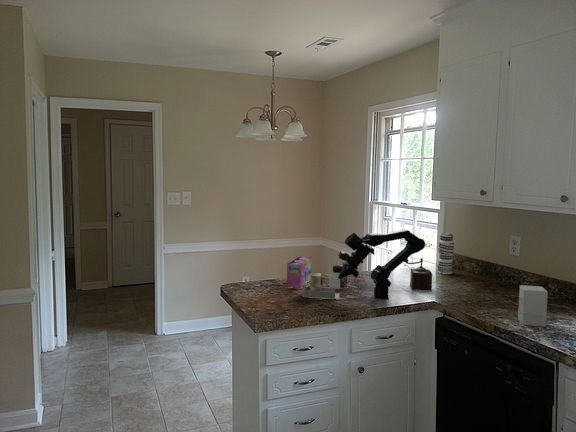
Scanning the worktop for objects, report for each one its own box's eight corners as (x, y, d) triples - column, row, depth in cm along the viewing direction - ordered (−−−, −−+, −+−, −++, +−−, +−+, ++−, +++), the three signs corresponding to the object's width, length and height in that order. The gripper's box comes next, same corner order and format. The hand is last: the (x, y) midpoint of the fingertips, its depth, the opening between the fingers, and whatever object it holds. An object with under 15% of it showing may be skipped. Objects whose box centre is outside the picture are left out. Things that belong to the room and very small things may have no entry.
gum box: (299, 278, 271) (299, 255, 270) (312, 280, 269) (312, 256, 268) (286, 288, 249) (286, 263, 247) (300, 290, 246) (300, 264, 245)
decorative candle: (449, 271, 297) (451, 232, 294) (455, 274, 288) (457, 234, 285) (435, 270, 297) (437, 232, 294) (440, 274, 287) (442, 234, 285)
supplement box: (540, 320, 200) (542, 286, 198) (546, 327, 191) (548, 291, 189) (517, 318, 202) (519, 284, 200) (522, 325, 193) (524, 289, 192)
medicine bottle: (340, 289, 247) (340, 267, 246) (328, 287, 251) (329, 265, 250) (347, 287, 253) (347, 265, 251) (335, 285, 257) (336, 263, 256)
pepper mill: (428, 285, 258) (430, 253, 256) (432, 290, 247) (433, 257, 245) (400, 284, 260) (401, 252, 258) (402, 289, 249) (403, 256, 247)
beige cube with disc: (322, 292, 236) (322, 273, 235) (321, 296, 230) (322, 276, 229) (311, 292, 237) (311, 273, 236) (310, 295, 231) (310, 275, 230)
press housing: (339, 294, 237) (339, 281, 236) (339, 300, 227) (339, 286, 226) (304, 293, 239) (304, 280, 238) (302, 298, 229) (302, 285, 229)
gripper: (344, 239, 236) (324, 262, 239) (350, 251, 218) (328, 275, 221) (360, 253, 238) (340, 275, 241) (368, 265, 220) (346, 289, 222)
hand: (338, 278), depth 231 cm, fingers closed
